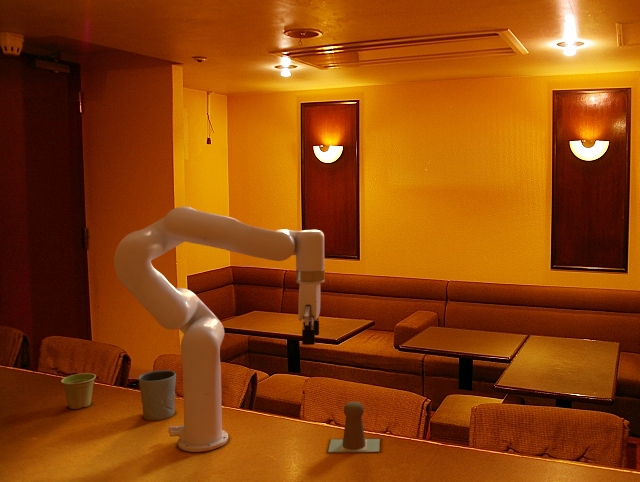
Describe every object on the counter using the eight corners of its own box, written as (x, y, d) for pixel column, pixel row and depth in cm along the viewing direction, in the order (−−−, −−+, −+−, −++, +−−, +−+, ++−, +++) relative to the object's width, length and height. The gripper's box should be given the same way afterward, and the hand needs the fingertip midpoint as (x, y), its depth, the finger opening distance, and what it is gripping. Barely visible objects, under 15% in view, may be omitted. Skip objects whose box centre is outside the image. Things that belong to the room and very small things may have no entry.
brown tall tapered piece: (362, 450, 154) (362, 408, 153) (339, 448, 155) (339, 406, 154) (368, 440, 160) (368, 400, 159) (346, 438, 161) (345, 398, 160)
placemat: (328, 452, 154) (328, 451, 154) (330, 439, 161) (330, 438, 161) (379, 452, 154) (379, 451, 154) (379, 439, 161) (379, 438, 161)
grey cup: (183, 413, 180) (183, 373, 179) (154, 424, 171) (153, 383, 171) (162, 406, 185) (161, 367, 185) (132, 417, 177) (131, 376, 176)
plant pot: (86, 411, 181) (85, 383, 181) (55, 411, 181) (54, 383, 181) (102, 400, 190) (101, 373, 190) (72, 400, 191) (71, 373, 190)
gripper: (301, 271, 170) (301, 331, 171) (291, 281, 153) (291, 348, 154) (327, 271, 170) (328, 331, 171) (320, 281, 153) (321, 348, 154)
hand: (310, 339), depth 163 cm, fingers open, 9 cm apart
